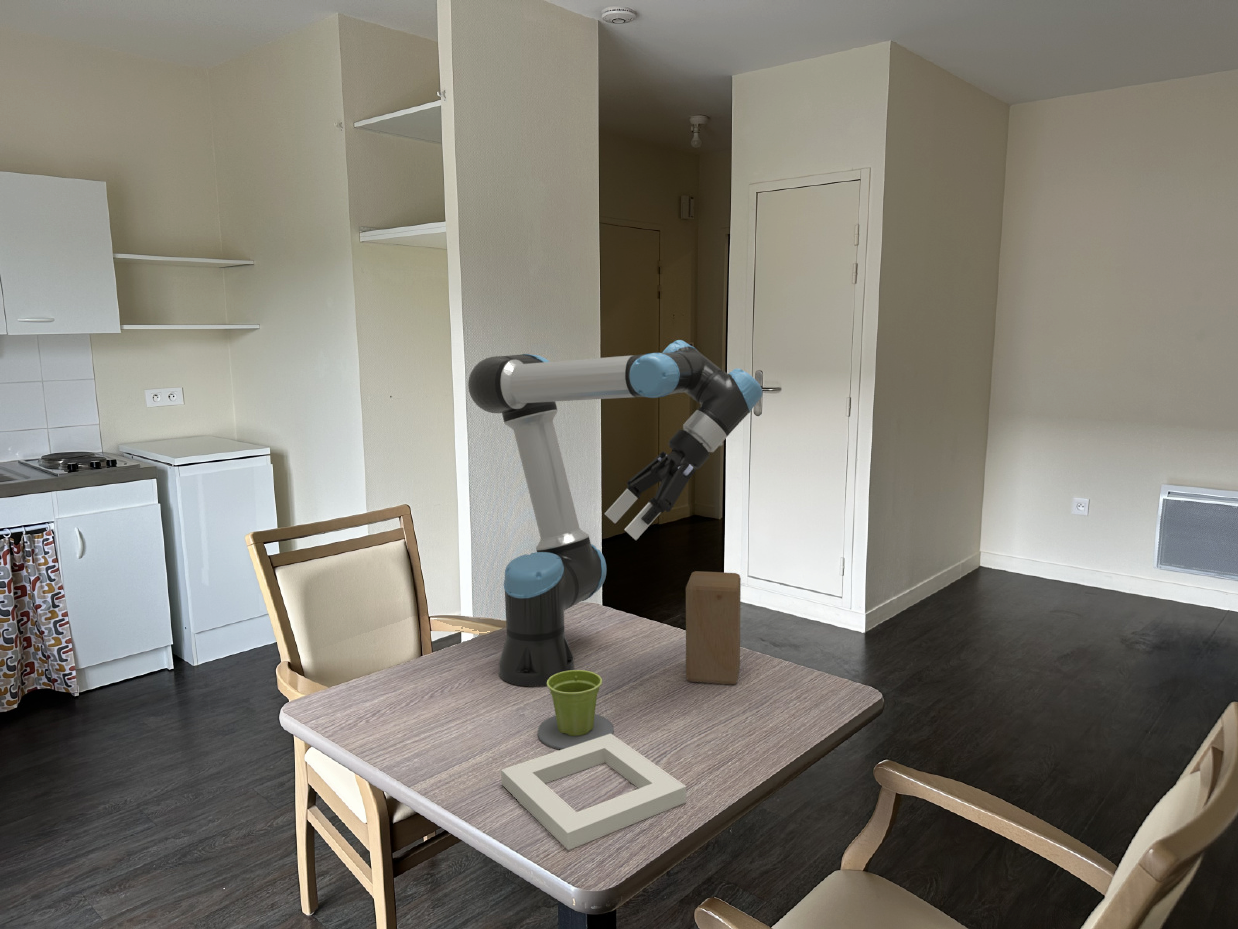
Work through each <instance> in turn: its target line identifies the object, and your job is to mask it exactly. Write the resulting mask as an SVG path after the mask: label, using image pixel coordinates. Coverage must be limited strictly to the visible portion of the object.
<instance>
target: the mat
mask: <svg viewBox="0 0 1238 929" xmlns="http://www.w3.org/2000/svg"><path fill="white" fill-rule="evenodd" d="M608 734H612V735H614V734H615V733H614V725H613V723H612V722H611V720H609V719H608V718H606V717H605V716H603V715H600V714H597V713H595V717H594V725H593V729H592V730H590V731H589V732H588V733H587V734H584V735H579V736H570V735H568V734H566V733H561V732H560V731H559V730H558V726H557V719H556V715H553V716H551V717H549V718H547V719H546V720H544V721H543V722H541V724H540V725H539V726H538V729H537V737H538V740H539V741H540V742H541V743H542V744H544V745H545V746H547V747H549V748H551V749H555V750H557V751H559V749H560V750H562V749H565V748H568V747H571V746H574V745H577V744H580V743H583V742H586V741H590V740H593V739H596V738H599V737H602V736H605V735H608Z"/></svg>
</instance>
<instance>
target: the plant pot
mask: <svg viewBox="0 0 1238 929" xmlns="http://www.w3.org/2000/svg"><path fill="white" fill-rule="evenodd" d="M602 684H603V679H602V677H601V675H599V674H598V673H596V672H593V671H589V670H584V669H574V670H570V671H564V672H560V673H557V674H555V675H553V676H551V677H550V678H549V679H548V680H547V685H546V686H547V688H548V689H549V692H550V694H551V697H552V702H553V708H554V713H555V716H556V719H557V726H558V730H559V731H560V732H561V733H566V734H568V735H570V736H579V735H584V734H587V733H588V732H589V731H590V730H592V729H593V725H594V717H595V714H596V707H597V700H598V693H599V692H600V687H601V686H602Z"/></svg>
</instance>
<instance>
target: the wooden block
mask: <svg viewBox="0 0 1238 929" xmlns="http://www.w3.org/2000/svg"><path fill="white" fill-rule="evenodd" d="M741 585H742V584H741V575H740V574H739V573H737V572H724V571H723V572H722V571H721V572H720V571H719V572H718V571H698V570H697V571H696V570H695V571H693V572H691V575H690V576H689V580H688V581H687V584H686V586H685V677H686V680H687V681H689V682H694V683H706V684H721V685H735V684H737V682H738V678H739V673H740V671H739V670H740V666H741V596H742V595H741V590H742V589H741V587H742V586H741Z"/></svg>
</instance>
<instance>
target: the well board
mask: <svg viewBox="0 0 1238 929" xmlns="http://www.w3.org/2000/svg"><path fill="white" fill-rule="evenodd" d="M602 764H606V765H607V766H609V767H610V768H611V769H613V770H614V771H615V772H616V773H618V774H620V776H622V777H623V778H625V779H626V780H627V781H628V782H630V784H633V785H634V787H637V789H635V790H632V791H628V792H626V793H623V794H621V795H619V796H616V797H614V798H610V799H608V800H605V801H603V802H600V803H597V804H595V805H592V806H590V807H587V808H584V809H582V810H580V811H579V810H578V811H577V810H575V809H574V808H573V807H571V806H570V805H569V804H568V803H567V802H566V801H565V800H564V799H562V797H560V796H559V795H558V794H557V793H556V792H555V791H553V790H552V789H551V788H550V786H548V785H547V784H549V783H550V782H554V781H556V780H559V779H562V778H564V777H567V776H571V775H573V774H577V773H579V772H582V771H585V770H588V769H591V768H593V767H596V766H599V765H602ZM500 774H501V775H500V776H501V786H502V785H503V786H504V787H505V788H506V789H507V790H508V791H509V792H510V793H511V794H512V795H513V796H512V795H511V794H510V793H509V792H508V791H507V790H506V789H505V788H504V787H503V786H502V787H503V788H504V789H505V790H506V791H507V792H508V793H509V794H510V795H511V796H512V797H513V798H514V797H515V798H516V799H517V801H518V803H519V804H520V805H521V806H522V807H524V809H526V810H527V812H529V813H530V814H531V815H532V816H533V818H535V820H537V821H538V822H539V824H541V825H542V826H543V827H544V828H545V829H546V830H547V831H548V833H550V834H551V835H552V836H553V837H554V839H556V840H557V841H558V842H559V843H560V844H561V846H563V847H564V848H565V849H566V850H567V851H570V850H572V849H575V848H577V847H580V846H583V845H584V844H585V845H586V844H588V843H589V842H592V841H595V840H597V839H599V838H602V837H604V836H607V835H610V834H611V833H614V832H616V831H619V830H622V829H623V828H627V827H629V826H631V825H634V824H637V823H639V822H641V821H643V820H646V819H649V818H651V817H654V816H655V815H658V814H661V813H663V812H666V811H668V810H671V809H673V808H675V807H678V806H680V805H683V804H686V803H687V786H686V785H685V784H684V783H682V782H681V781H679V779H676V778H675V777H673V776H672V775H671V774H669V773H668V772H666V771H665V770H663V769H662V767H659V766H658V765H657V764H655V763H654V762H653V761H651V760H650V759H648V758H647V757H645V756H644V755H642V754H641V753H640V752H638V751H636V750H635V749H634V748H633V747H631V746H630V745H628V744H627V743H625V742H624V741H623V740H621V739H620V738H618V737H616V736H615V735H614V734H613V735H612V734H608V735H605V736H602V737H599V738H596V739H593V740H590V741H586V742H583V743H580V744H577V745H574V746H571V747H568V748H565V749H562V750H557V751H553V752H551V753H548V754H545V755H541V756H539V757H535V758H532V759H530V760H527V761H523V762H520V763H517V764H514V765H511V766H507V767H505V768H502V769H501V770H500ZM553 780H554V781H553ZM515 798H514V799H515ZM516 799H515V800H516Z"/></svg>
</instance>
